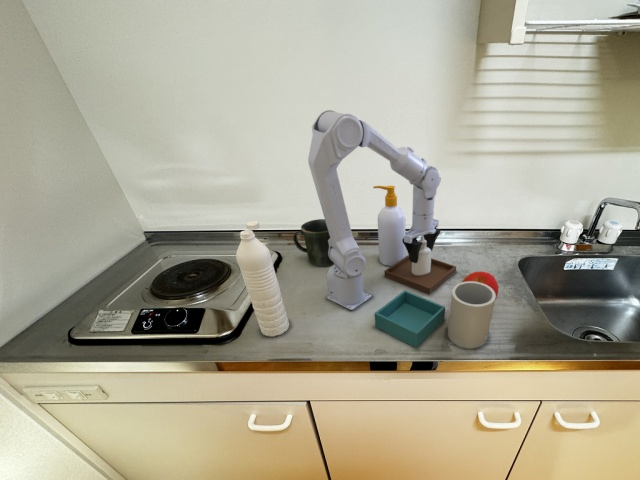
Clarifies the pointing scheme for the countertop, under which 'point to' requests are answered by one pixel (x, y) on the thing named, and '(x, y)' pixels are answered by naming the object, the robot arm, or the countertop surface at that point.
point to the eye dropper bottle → (422, 260)
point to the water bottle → (261, 283)
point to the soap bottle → (391, 229)
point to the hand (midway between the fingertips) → (421, 256)
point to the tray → (422, 283)
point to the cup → (470, 314)
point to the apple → (483, 280)
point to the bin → (410, 318)
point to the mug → (315, 242)
